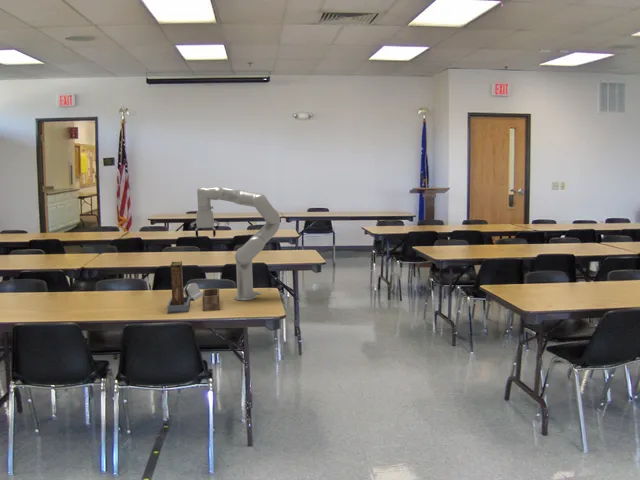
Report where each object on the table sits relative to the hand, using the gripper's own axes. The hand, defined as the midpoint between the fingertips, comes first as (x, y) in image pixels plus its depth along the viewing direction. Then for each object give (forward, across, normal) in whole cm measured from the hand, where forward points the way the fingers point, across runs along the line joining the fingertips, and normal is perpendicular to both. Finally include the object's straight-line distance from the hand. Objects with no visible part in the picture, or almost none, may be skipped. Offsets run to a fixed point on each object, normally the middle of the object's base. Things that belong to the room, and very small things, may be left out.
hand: (205, 237), depth 327 cm
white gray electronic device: (+39, +10, -10) cm, 41 cm away
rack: (+38, -2, +17) cm, 42 cm away
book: (+38, +16, +17) cm, 44 cm away
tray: (+38, +16, +17) cm, 45 cm away
